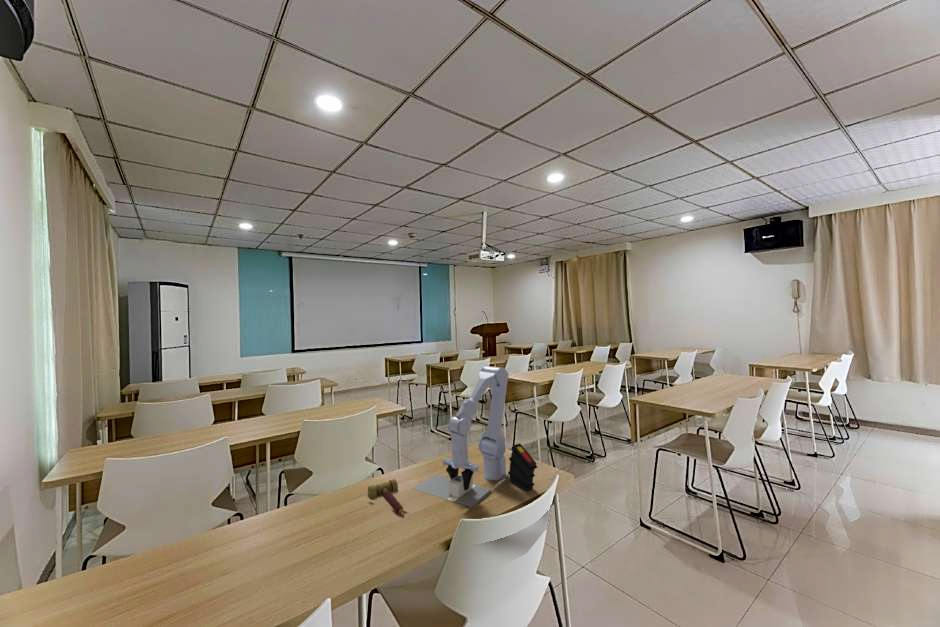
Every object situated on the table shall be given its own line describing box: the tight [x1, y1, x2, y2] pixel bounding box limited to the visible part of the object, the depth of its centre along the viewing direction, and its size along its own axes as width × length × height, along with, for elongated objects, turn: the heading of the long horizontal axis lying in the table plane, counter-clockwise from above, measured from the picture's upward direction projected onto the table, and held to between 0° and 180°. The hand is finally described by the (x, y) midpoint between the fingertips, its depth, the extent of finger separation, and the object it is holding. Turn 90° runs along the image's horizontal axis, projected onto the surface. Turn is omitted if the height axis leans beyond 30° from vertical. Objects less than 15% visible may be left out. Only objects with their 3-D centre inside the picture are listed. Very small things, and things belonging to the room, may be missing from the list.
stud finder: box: [448, 473, 474, 497], centre depth 139 cm, size 9×4×5 cm, turn 146°
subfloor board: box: [411, 474, 492, 510], centre depth 142 cm, size 14×26×1 cm, turn 56°
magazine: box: [507, 442, 538, 492], centre depth 145 cm, size 4×13×15 cm, turn 30°
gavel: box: [367, 478, 405, 516], centre depth 135 cm, size 21×5×10 cm
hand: (460, 487), depth 139 cm, fingers closed on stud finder, 4 cm apart
